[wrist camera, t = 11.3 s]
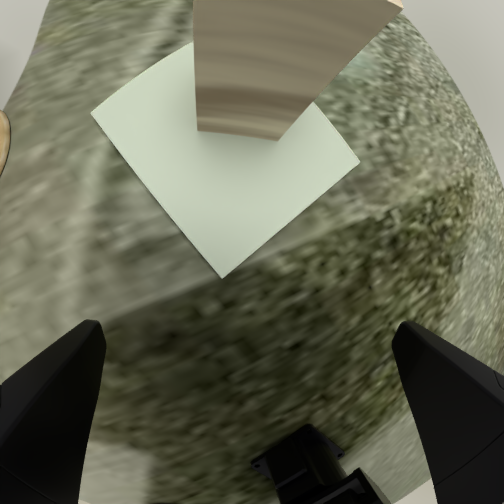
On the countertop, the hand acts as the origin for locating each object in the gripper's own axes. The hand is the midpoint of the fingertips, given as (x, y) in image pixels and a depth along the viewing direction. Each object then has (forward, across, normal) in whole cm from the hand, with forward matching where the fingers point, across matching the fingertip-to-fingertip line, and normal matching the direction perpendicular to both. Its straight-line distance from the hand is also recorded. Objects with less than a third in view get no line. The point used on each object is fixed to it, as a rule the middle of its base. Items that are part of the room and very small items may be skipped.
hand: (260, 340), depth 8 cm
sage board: (+13, +1, -4) cm, 14 cm away
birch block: (+13, 0, -7) cm, 15 cm away
